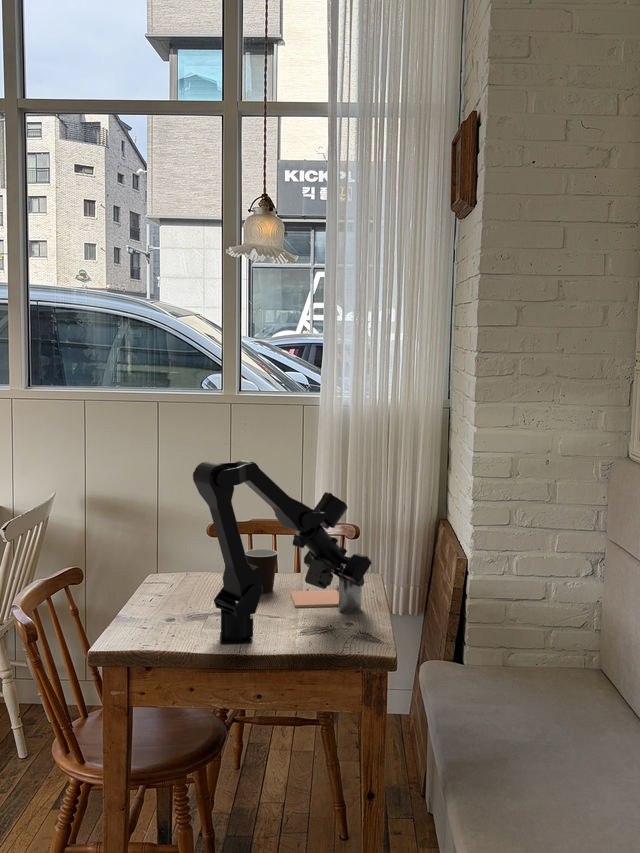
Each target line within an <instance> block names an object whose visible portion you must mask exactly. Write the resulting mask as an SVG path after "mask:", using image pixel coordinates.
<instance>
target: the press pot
mask: <svg viewBox="0 0 640 853" xmlns="http://www.w3.org/2000/svg"><path fill="white" fill-rule="evenodd" d="M343 569H344V568H342V569H339V570H338V573H339V586H338V593H339V606H338V611H339V612H340V613H343V614H344V613H345V614H356V613H357V612H358V613H360V612H361V611H362V591H363V589H362V587H363V586H360V585H359V584H357V583H356V582H354V581H349V580H346V579H343V577H344V575H343Z"/></svg>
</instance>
